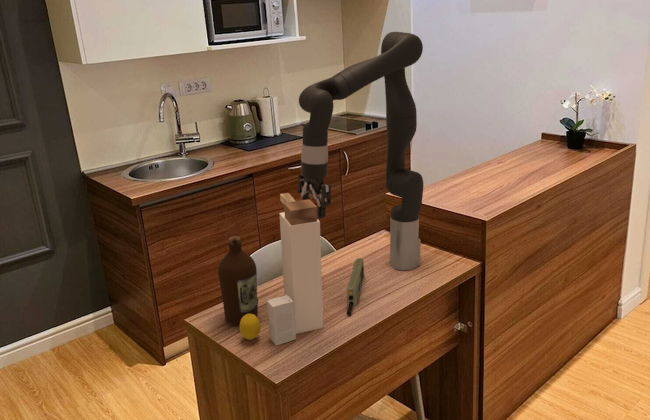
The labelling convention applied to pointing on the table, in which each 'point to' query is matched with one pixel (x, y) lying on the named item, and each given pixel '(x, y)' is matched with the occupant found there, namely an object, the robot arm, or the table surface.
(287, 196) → the mallet
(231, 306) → the olive oil
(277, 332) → the skincare box
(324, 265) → the table surface
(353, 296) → the handheld radio
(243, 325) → the lemon
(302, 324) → the stand
